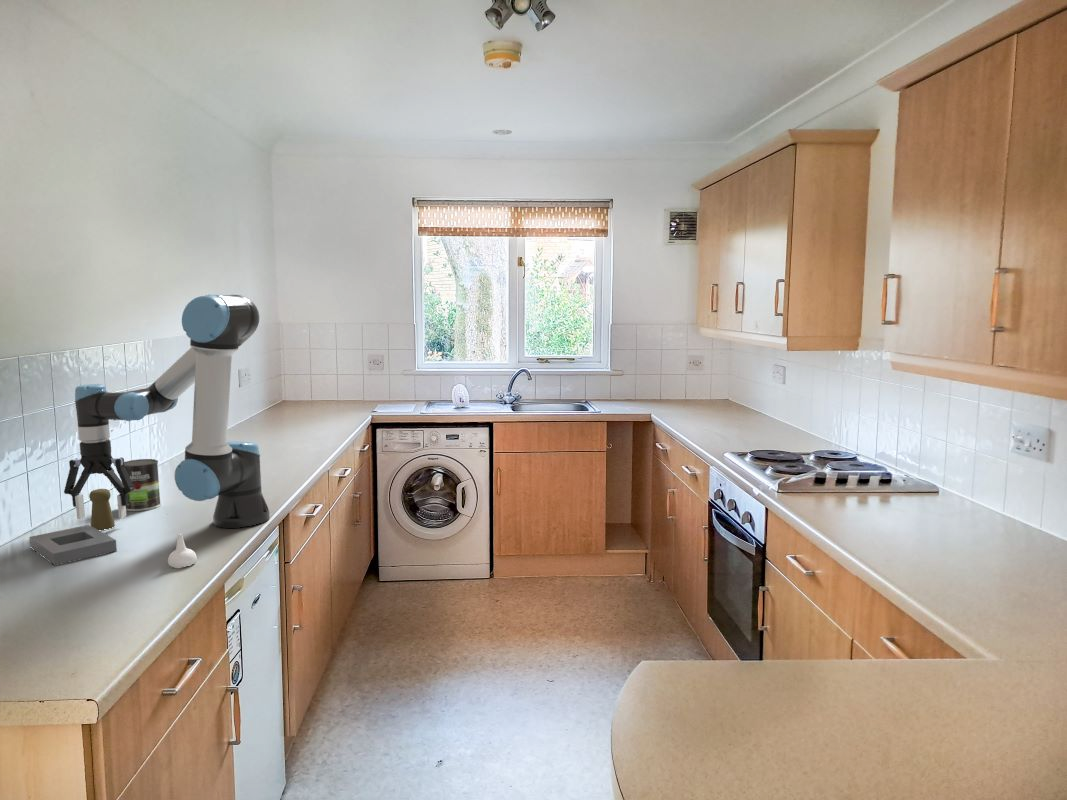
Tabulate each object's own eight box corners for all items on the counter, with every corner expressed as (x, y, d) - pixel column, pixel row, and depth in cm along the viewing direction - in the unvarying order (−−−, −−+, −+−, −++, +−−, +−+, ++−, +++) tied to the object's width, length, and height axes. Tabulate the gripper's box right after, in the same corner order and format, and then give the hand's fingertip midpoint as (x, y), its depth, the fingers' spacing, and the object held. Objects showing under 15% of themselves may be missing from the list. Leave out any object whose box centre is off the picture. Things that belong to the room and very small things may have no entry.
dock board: (116, 551, 198) (115, 539, 197) (54, 565, 188) (53, 553, 187) (89, 535, 211) (88, 524, 211) (30, 548, 201) (29, 536, 201)
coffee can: (157, 510, 236) (154, 464, 234) (120, 512, 233) (116, 467, 231) (164, 501, 246) (160, 457, 244) (128, 504, 243) (124, 460, 241)
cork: (109, 523, 223) (106, 485, 221) (118, 527, 219) (115, 489, 217) (87, 528, 218) (83, 490, 216) (95, 532, 214) (92, 493, 213)
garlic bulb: (189, 560, 192) (185, 529, 191) (202, 563, 188) (198, 531, 187) (164, 567, 187) (160, 535, 186) (176, 571, 183) (172, 538, 182)
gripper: (143, 436, 219) (150, 512, 222) (59, 438, 218) (67, 514, 221) (131, 442, 212) (137, 520, 215) (44, 443, 211) (52, 522, 214)
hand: (102, 517), depth 218 cm, fingers open, 11 cm apart
